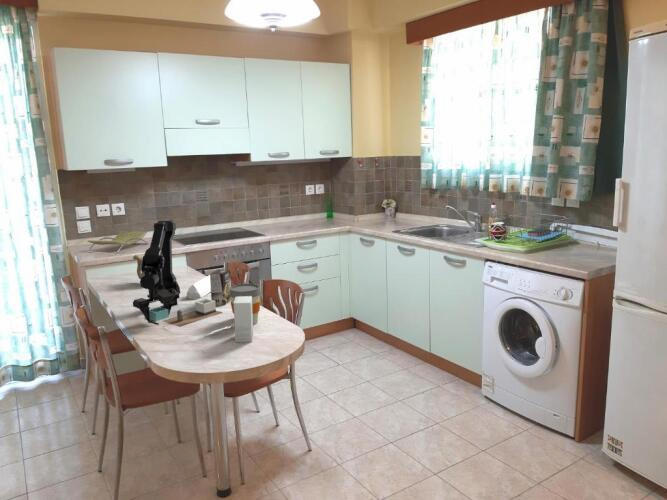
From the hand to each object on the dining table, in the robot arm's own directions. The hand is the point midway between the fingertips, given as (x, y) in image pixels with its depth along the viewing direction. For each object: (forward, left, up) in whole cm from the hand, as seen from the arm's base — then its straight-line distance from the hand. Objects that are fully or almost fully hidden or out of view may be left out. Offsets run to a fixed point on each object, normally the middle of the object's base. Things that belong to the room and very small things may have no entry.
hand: (158, 318), depth 221 cm
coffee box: (+5, +30, -1) cm, 30 cm away
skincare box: (+45, +7, -1) cm, 46 cm away
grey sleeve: (+11, +16, 0) cm, 19 cm away
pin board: (+11, +10, -1) cm, 15 cm away
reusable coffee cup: (+32, +20, -1) cm, 38 cm away
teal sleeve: (0, 0, -1) cm, 1 cm away
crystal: (-20, +39, -2) cm, 44 cm away
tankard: (-59, +34, -1) cm, 68 cm away
